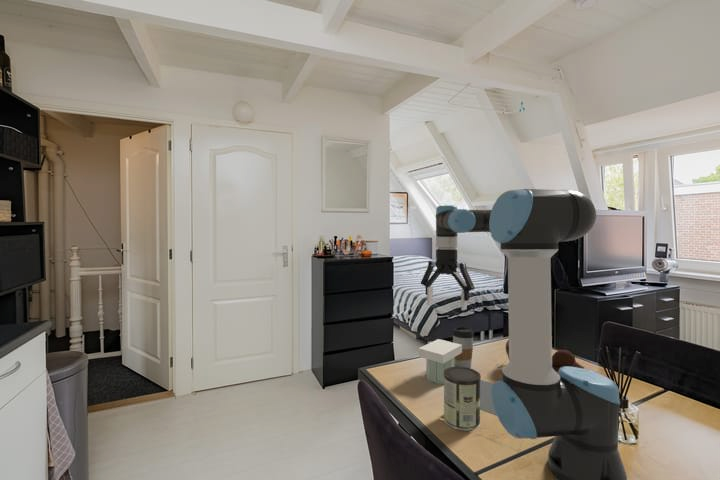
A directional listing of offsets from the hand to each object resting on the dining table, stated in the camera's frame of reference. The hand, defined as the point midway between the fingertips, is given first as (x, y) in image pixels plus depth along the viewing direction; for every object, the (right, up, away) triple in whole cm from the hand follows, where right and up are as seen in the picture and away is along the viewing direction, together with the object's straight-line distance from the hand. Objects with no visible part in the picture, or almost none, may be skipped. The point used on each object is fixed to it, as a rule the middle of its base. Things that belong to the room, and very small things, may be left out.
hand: (446, 306), depth 128 cm
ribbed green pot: (-2, -27, +2) cm, 27 cm away
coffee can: (-2, -28, -26) cm, 38 cm away
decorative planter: (+32, -27, +9) cm, 43 cm away
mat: (+10, -28, -11) cm, 31 cm away
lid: (-2, -18, +2) cm, 18 cm away
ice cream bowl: (+38, -28, -9) cm, 48 cm away
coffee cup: (+10, -27, +13) cm, 31 cm away
